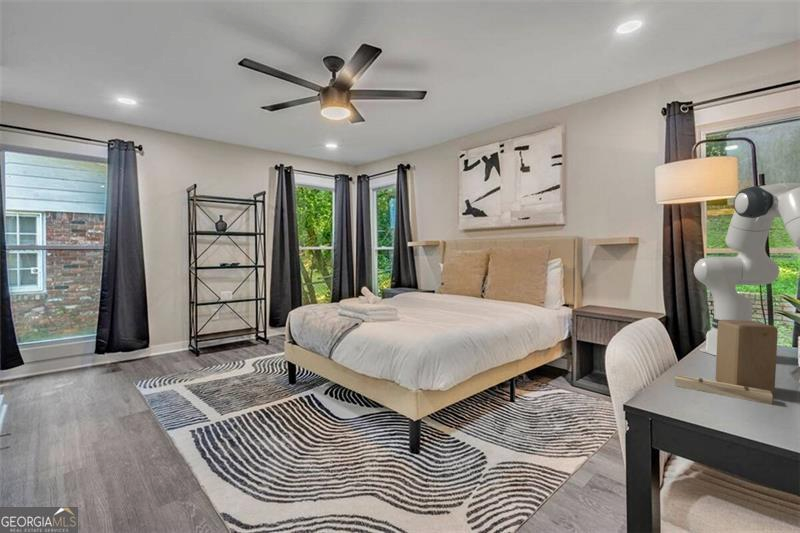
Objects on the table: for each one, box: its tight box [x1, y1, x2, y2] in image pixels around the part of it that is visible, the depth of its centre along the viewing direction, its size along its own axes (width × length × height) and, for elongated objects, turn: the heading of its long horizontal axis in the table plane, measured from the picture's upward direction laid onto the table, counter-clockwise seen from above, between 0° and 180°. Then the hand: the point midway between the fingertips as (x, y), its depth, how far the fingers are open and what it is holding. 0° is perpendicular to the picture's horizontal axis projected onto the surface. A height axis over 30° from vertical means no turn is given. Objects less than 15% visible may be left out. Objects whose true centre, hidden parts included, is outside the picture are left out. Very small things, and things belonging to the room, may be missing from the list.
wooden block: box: [715, 320, 779, 395], centre depth 110 cm, size 10×10×20 cm
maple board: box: [674, 374, 774, 405], centre depth 107 cm, size 4×21×3 cm, turn 50°
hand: (793, 377), depth 104 cm, fingers closed
